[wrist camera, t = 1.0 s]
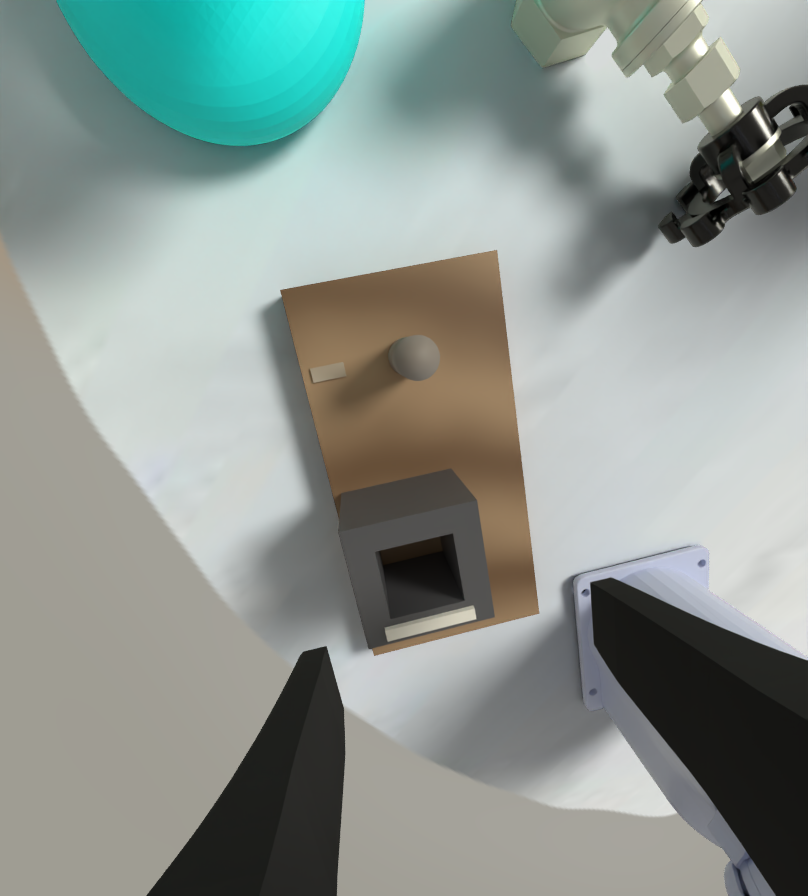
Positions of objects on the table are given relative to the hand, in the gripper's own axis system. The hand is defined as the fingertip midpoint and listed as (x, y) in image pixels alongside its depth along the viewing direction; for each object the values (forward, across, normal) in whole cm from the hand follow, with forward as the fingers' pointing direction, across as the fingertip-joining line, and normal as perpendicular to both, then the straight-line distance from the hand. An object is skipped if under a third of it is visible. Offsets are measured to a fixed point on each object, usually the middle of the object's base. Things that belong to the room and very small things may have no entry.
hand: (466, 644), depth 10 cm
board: (+10, -1, -2) cm, 10 cm away
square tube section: (+9, +1, +1) cm, 9 cm away
